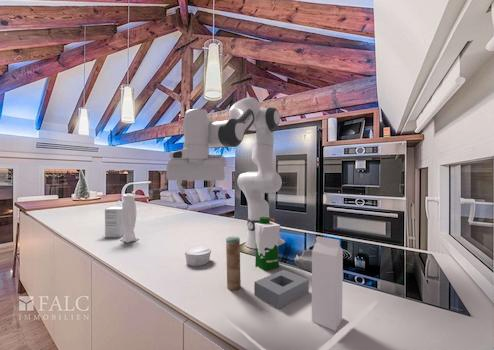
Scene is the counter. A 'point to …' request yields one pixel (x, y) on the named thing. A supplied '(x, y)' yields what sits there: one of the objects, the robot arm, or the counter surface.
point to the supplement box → (113, 222)
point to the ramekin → (197, 255)
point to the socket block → (281, 288)
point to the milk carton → (267, 244)
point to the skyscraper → (129, 217)
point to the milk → (327, 282)
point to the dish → (305, 260)
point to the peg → (233, 263)
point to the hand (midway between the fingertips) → (196, 193)
